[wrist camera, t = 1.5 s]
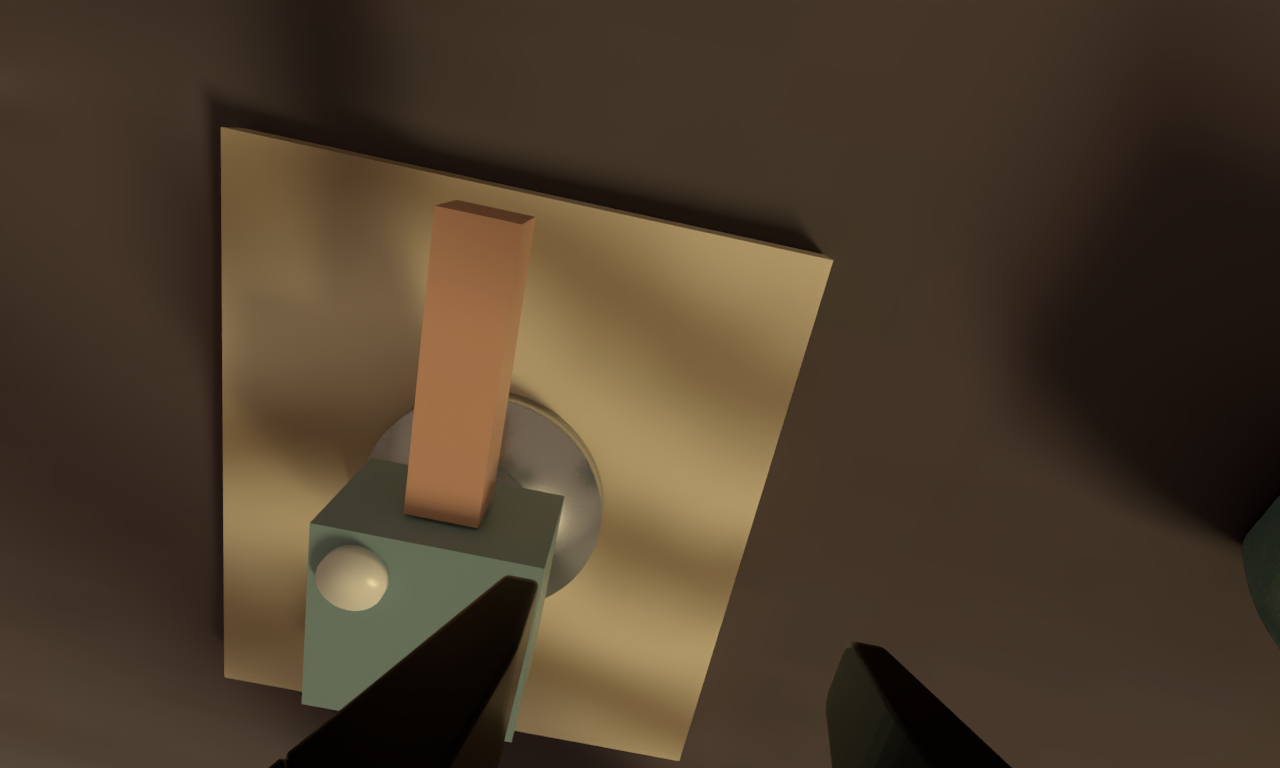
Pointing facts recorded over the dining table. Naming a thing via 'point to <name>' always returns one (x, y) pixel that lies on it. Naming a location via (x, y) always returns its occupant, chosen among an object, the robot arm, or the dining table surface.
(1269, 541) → the flower pot
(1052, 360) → the dining table surface
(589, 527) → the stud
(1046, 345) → the dining table surface
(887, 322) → the dining table surface
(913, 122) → the dining table surface
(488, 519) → the cap
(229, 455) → the board
